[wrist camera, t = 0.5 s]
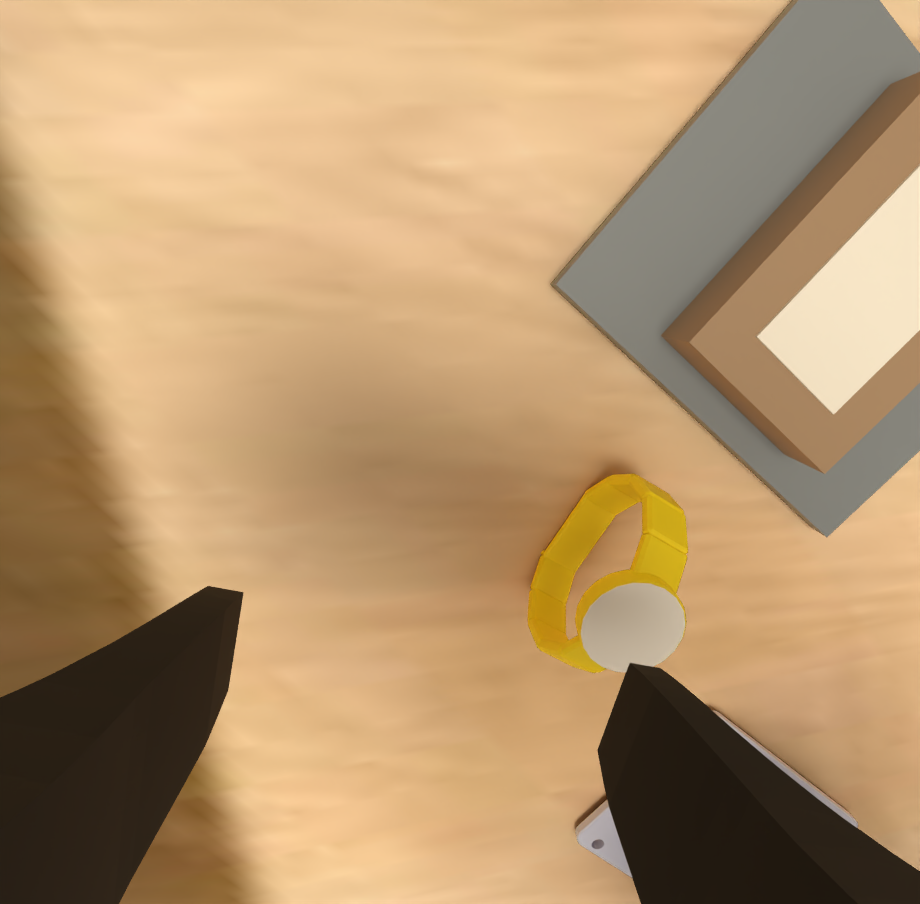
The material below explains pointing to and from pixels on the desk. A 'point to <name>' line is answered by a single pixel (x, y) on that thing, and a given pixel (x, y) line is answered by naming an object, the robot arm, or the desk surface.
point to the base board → (725, 211)
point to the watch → (613, 582)
